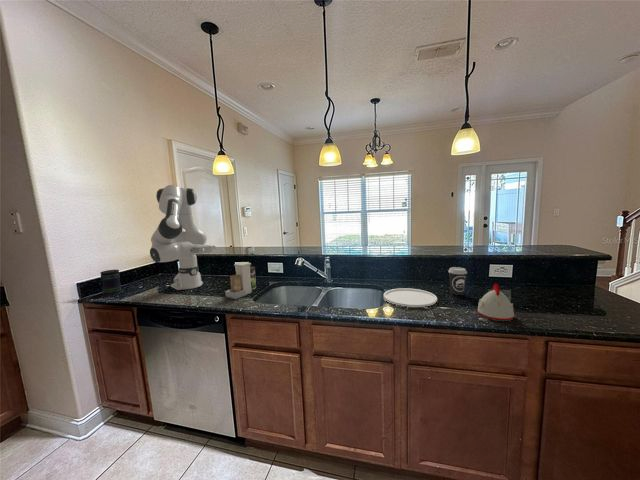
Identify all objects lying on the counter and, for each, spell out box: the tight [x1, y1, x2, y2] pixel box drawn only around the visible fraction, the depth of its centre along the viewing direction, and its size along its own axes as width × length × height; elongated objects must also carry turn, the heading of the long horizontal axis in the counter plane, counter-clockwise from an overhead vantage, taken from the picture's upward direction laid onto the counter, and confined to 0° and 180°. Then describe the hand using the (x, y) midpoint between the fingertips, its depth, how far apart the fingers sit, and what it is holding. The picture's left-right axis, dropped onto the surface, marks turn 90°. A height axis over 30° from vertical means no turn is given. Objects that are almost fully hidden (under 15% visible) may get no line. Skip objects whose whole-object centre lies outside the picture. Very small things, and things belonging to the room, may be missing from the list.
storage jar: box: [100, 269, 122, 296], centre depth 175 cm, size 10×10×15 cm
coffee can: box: [250, 265, 257, 291], centre depth 176 cm, size 10×10×14 cm
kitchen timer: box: [477, 283, 515, 320], centre depth 120 cm, size 14×14×15 cm
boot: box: [225, 261, 252, 300], centre depth 162 cm, size 9×14×19 cm, turn 147°
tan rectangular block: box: [229, 274, 241, 293], centre depth 160 cm, size 4×4×12 cm
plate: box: [383, 287, 438, 307], centre depth 146 cm, size 28×28×2 cm
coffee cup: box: [448, 266, 468, 295], centre depth 151 cm, size 10×10×15 cm
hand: (209, 246), depth 150 cm, fingers open, 8 cm apart
